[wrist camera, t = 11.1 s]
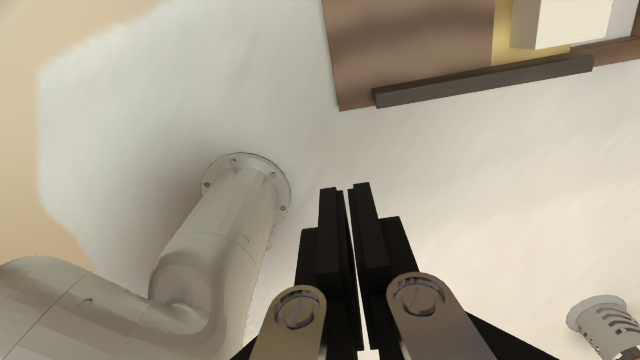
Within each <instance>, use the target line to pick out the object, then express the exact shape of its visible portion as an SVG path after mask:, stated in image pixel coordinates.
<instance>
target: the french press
mask: <svg viewBox="0 0 640 360" xmlns="http://www.w3.org/2000/svg"><path fill="white" fill-rule="evenodd" d="M626 308H627V306H626V304H625V302H624V300H623V299H621V298H619V297H617V296H611V295H601V296H595V297H591V298H589V299H586V300H584V301H581V302H580V303H579V304H577V305H576V306H574V307H573V308H572V309H571V310H570V312H569V313H568V314H567V318H566V323H567V325H568V327H569V328H570V329H572V330H574V331H576V332H580V333H581V334H582V335H583V336H584V337H586V338H585V339H586V340H587V341H588V342H589V343H591V342H590V341H593V343H591V344H592V345H591V344H590V345H591V346H592V347H593V348H594V349H595V348H599V349H600V350H599V351H598V350H597V349H595V351H596V352H597V351H598V352H597V353H598V355H600V356H601V358H602V359H603V360H612V359H613V358H614V357H615V356H616V355H617V354H619V353H621V354H622V355H623V356H621V357H620V358H619V359H616V360H640V350H639V349H638V348H637V347H636V346H637V345H640V328H639V327H638V326H640V325H639V324H638V323H637V321H636V320H635V319H634V318H632V317H631V316H630V315H629V314H628V313H627V312H626ZM631 319H632V320H634V321H632V320H631ZM619 328H625V329H626V330H627V331H624V332H622V331H621V330H620V329H619ZM589 340H590V341H589Z"/></svg>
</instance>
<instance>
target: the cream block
mask: <svg viewBox="0 0 640 360" xmlns="http://www.w3.org/2000/svg"><path fill="white" fill-rule="evenodd" d="M612 4H613V0H513V9H512V20H511V31H510V42H509V47H513V48H522V49H530V50H538V49H544V48H549V47H554V46H560V45H565V44H571V43H576V42H581V41H587V40H592V39H598V38H603V37H605V35H606V31H607V26H608V22H609V17H610V13H611V8H612Z"/></svg>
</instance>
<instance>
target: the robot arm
mask: <svg viewBox="0 0 640 360" xmlns="http://www.w3.org/2000/svg"><path fill="white" fill-rule="evenodd" d="M234 159H235V160H236V161H235V160H234ZM273 172H275V173H273ZM353 187H354V188H353V189H347V190H348V199H349V207H350V216H351V225H352V234H353V242H354V251H355V260H356V268H357V274H358V280H359V286H360V292H361V298H362V304H363V310H364V315H365V321H366V327H367V333H368V339H369V344H370V350H375V349H378V350H379V357H380V360H559V359H557V358H555V357H553V356H551V355H550V354H548V353H546V352H544V351H542V350H540V349H538V348H536V347H534V346H532V345H530V344H528V343H526V342H524V341H522V340H520V339H518V338H517V337H515V336H513V335H511V334H509V333H507V332H505V331H503V330H501V329H499V328H497V327H495V326H493V325H491V324H489V323H487V322H485V321H484V320H482V319H480V318H478V317H476V316H474V315H472V314H470V313H468V312H466V311H464V309H463V308H462V307H461V305H460V304H459V302H458V301H457V299H456V298H455V296H454V295H453V293H452V292H451V290H450V289H449V287H448V286H447V285H446V284H445V283H444V282H443V281H442V280H440V279H438V278H437V277H435V276H433V275H430V274H427V273H422V272H420V271H419V269H418V266H417V263H416V260H415V258H414V255H413V252H412V250H411V247H410V244H409V241H408V239H407V236H406V233H405V231H404V228H403V225H402V223H401V220H400V218H399V216H395V217H388V218H381V219H378V215H377V211H376V208H375V204H374V200H373V196H372V192H371V188H370V184H369V182H365V183H358V184H353ZM201 193H202V198H201V199H200V201H199V202H198V203H197V205H196V206H195V207H194V209H193V210H192V211H191V213H190V214H189V215H188V217H187V218H186V219H185V221H184V222H183V223H182V225H181V226H180V228H179V229H178V230H177V232H176V233H175V234H174V236H173V237H172V238H171V240H170V241H169V242H168V244H167V245H166V246H165V248H164V249H163V251H162V252H161V253H160V255H159V256H158V258H157V260H156V262H155V264H154V266H153V269H152V272H151V275H150V280H149V288H148V300H147V299H145V298H143V297H141V296H139V295H137V294H135V293H133V292H131V291H129V290H127V289H125V288H123V287H121V286H119V285H117V284H115V283H113V282H111V281H109V280H107V279H104V278H102V277H100V276H98V275H96V274H94V273H92V272H90V271H88V270H86V269H84V268H82V267H80V266H77V265H75V264H72V263H70V262H68V261H64V260H61V259H58V258H54V257H49V256H28V257H23V258H19V259H15V260H12V261H9V262H7V263H5V264H3V265H1V266H0V360H358V356H357V351H364V342H363V333H362V324H361V315H360V306H359V297H358V288H357V279H356V270H355V261H354V253H353V247H352V241H351V236H350V230H349V224H348V218H347V213H346V207H345V201H344V195H343V190H340V191H337V190H336V187H332V188H325V189H320V198H319V217H318V227H315V228H307V229H302V231H301V237H300V245H299V252H298V260H297V267H296V275H295V282H294V286H293V287H291V288H288V289H286V290H284V291H283V292H281V293H280V294H278V295H277V296H276V297H275V298H274V300H273V301H272V303H271V304H270V306H269V308H268V311H267V313H266V316H265V319H264V321H263V324H262V326H261V329H260V332H259V334H258V335H257V336H256V337H255V338H254V339H253V340H252V341H250V342H249V343H248V344H247V345H246V346H245V347H243V338H244V331H245V325H246V320H247V315H248V311H249V307H250V303H251V299H252V295H253V292H254V288H255V285H256V281H257V278H258V274H259V271H260V267H261V264H262V260H263V257H264V253H265V250H268V249H270V248H271V244H270V241H269V235H270V232H271V228H272V227H273V226H275V225H276V224H277V223H279V222H280V221H281V220H282V219H283V217H284V216H285V214H286V213H287V211H288V207H289V203H290V188H289V185H288V182H287V180H286V178H285V176H284V175H283V173H282V172H281V171H280V170H279V169H278V168H277V167H276V166H275V165H274V164H273V163H271V162H270V161H268V160H266V159H264V158H262V157H260V156H257V155H253V154H248V153H236V154H230V155H227V156H224V157H222V158H220V159H218V160H217V161H216V162H214V163H213V164H212V165H211V166H210V168H209V169H208V170H207V171H206V173H205V175H204V177H203V180H202V184H201ZM242 347H243V348H242Z"/></svg>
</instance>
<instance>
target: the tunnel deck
mask: <svg viewBox="0 0 640 360" xmlns="http://www.w3.org/2000/svg"><path fill="white" fill-rule="evenodd" d="M322 3H323V10H324V16H325V23H326V29H327V35H328V42H329V48H330V54H331V61H332V67H333V74H334V80H335V86H336V93H337V99H338V105H339V112H341V111H347V110H352V109H358V108H364V107H369V106H376V108H377V109H380V108H386V107H391V106H397V105H403V104H408V103H414V102H420V101H425V100H431V99H437V98H443V97H448V96H454V95H460V94H465V93H471V92H477V91H483V90H488V89H494V88H500V87H505V86H511V85H517V84H523V83H528V82H534V81H540V80H545V79H551V78H557V77H563V76H568V75H574V74H580V73H585V72H591V71H592V69H593V67H596V66H601V65H607V64H613V63H618V62H624V61H630V60H635V59H640V1H639V5H638V9H637V13H636V17H635V21H634V25H633V29H632V33H631V36H630V37H624V38H619V39H614V40H608V41H603V42H597V43H592V44H586V45H581V46H576V47H570V46H571V44H565V45H560V46H554V47H549V48H544V49H538V50H530V49H522V48H513V47H509V42H510V31H511V20H512V9H513V0H322Z"/></svg>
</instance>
